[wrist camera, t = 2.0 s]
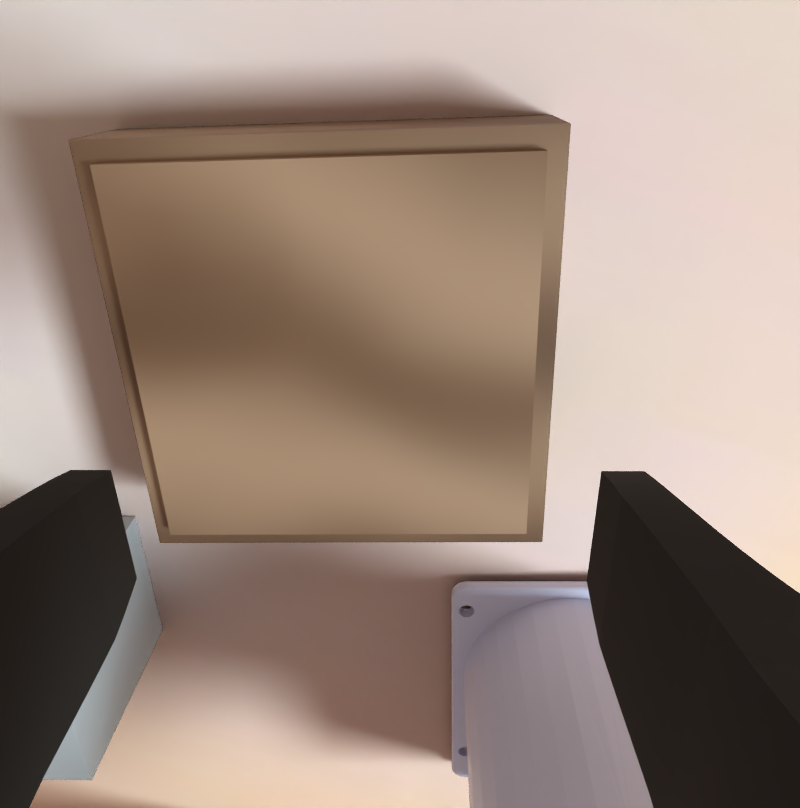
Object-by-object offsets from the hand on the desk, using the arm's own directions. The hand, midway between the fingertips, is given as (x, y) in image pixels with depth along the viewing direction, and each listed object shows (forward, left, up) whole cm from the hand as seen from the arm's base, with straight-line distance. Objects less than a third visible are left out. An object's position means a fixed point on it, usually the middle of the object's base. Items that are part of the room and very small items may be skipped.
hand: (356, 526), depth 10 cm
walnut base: (-1, +1, -10) cm, 11 cm away
